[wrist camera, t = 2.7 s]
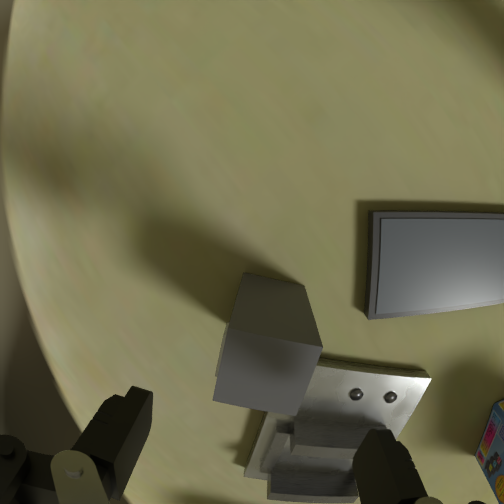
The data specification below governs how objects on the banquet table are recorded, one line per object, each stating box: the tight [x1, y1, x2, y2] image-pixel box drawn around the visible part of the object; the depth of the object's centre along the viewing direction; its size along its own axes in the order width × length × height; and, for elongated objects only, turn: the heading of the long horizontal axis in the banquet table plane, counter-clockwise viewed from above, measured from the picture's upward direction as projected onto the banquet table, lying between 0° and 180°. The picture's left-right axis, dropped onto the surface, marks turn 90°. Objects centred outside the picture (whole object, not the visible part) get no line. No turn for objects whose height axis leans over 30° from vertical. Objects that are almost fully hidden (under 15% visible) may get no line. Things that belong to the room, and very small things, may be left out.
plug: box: [213, 273, 323, 416], centre depth 17 cm, size 4×4×8 cm
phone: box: [364, 210, 504, 320], centre depth 19 cm, size 7×13×1 cm, turn 93°
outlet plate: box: [244, 357, 431, 503], centre depth 21 cm, size 14×12×4 cm
